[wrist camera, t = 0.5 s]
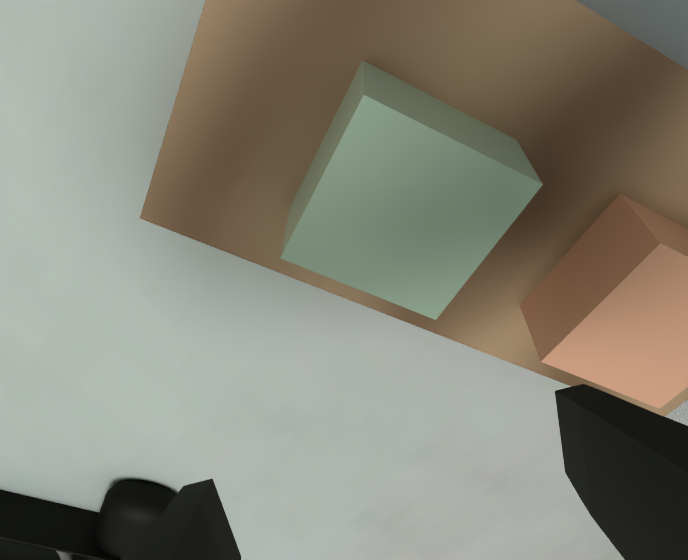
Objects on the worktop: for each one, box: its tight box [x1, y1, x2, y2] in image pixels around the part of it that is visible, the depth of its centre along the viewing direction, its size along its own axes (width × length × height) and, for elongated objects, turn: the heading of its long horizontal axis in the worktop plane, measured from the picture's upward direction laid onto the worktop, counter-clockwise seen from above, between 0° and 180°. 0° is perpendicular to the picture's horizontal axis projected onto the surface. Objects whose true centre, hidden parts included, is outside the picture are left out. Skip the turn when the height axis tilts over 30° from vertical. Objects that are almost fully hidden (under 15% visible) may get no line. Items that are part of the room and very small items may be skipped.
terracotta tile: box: [520, 194, 688, 409], centre depth 16 cm, size 4×4×2 cm
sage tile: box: [280, 60, 543, 320], centre depth 14 cm, size 4×4×2 cm
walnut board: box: [140, 0, 688, 417], centre depth 16 cm, size 20×10×2 cm, turn 64°
